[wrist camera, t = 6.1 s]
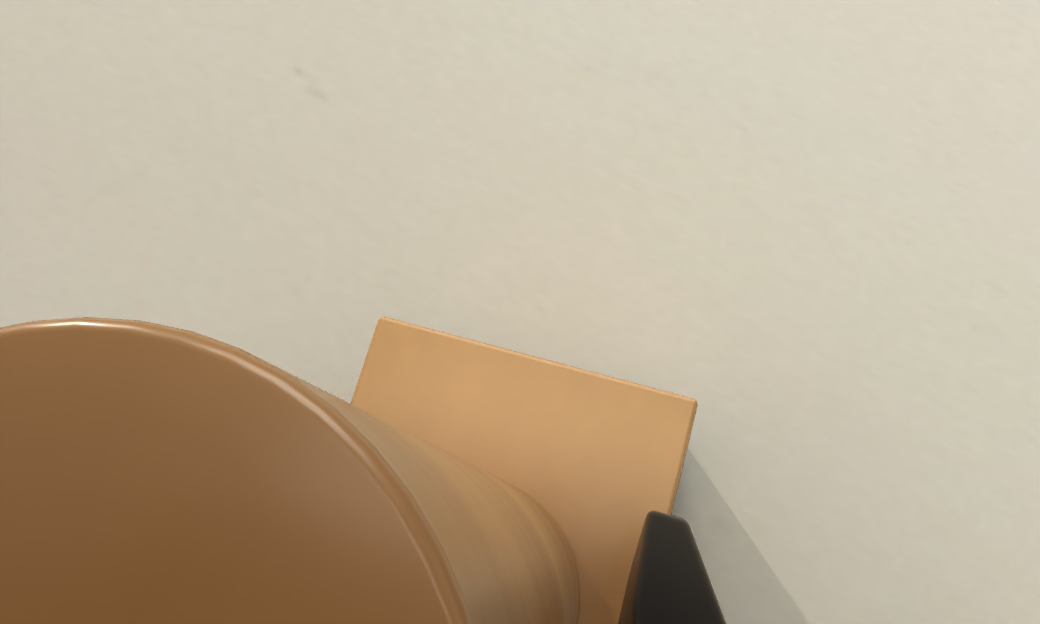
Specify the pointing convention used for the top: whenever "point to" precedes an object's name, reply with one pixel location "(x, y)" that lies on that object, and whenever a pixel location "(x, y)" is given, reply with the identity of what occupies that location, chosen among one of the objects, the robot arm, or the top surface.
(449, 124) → the top surface
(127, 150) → the top surface
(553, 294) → the top surface
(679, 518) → the robot arm
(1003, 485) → the top surface
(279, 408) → the wooden rubber stamp
